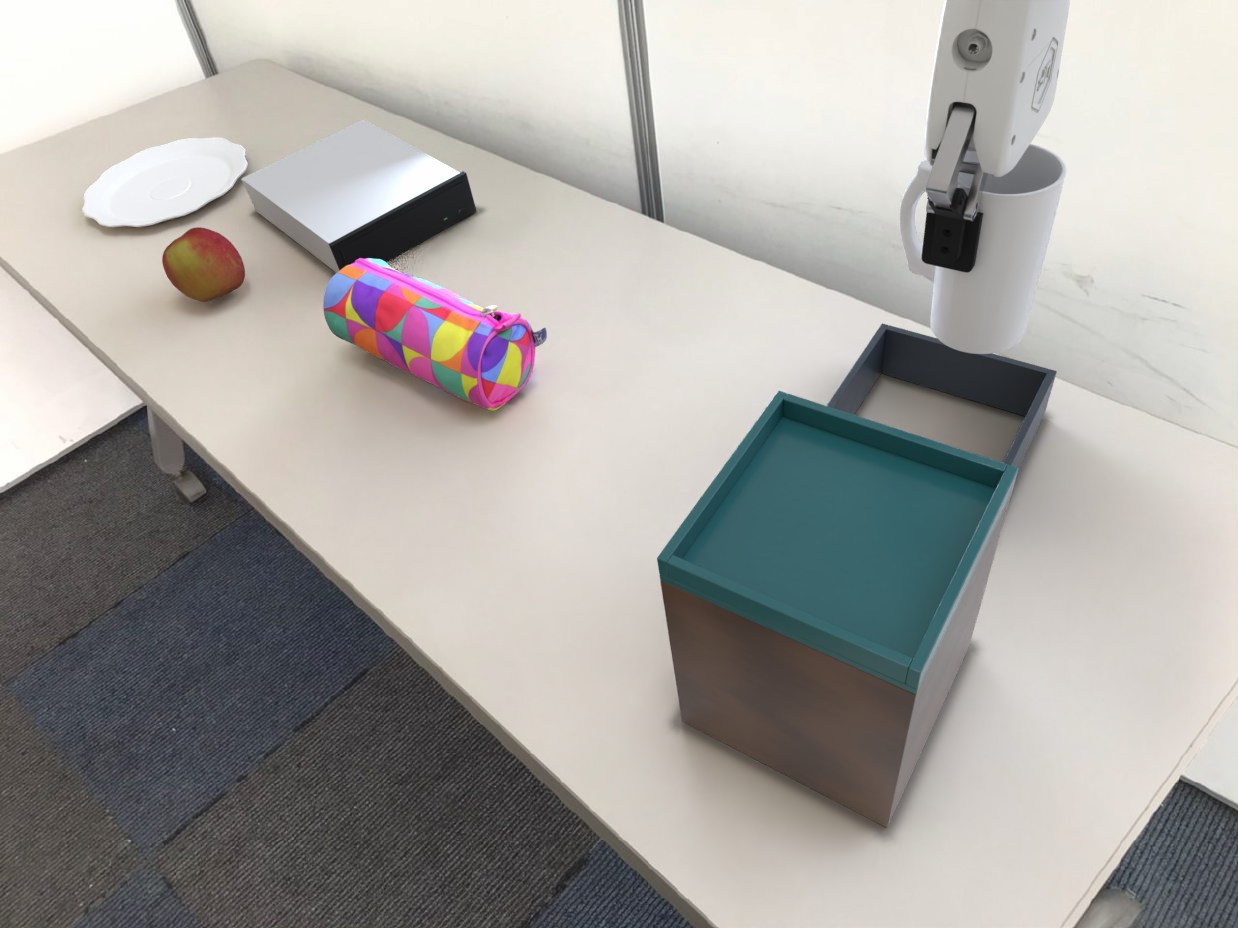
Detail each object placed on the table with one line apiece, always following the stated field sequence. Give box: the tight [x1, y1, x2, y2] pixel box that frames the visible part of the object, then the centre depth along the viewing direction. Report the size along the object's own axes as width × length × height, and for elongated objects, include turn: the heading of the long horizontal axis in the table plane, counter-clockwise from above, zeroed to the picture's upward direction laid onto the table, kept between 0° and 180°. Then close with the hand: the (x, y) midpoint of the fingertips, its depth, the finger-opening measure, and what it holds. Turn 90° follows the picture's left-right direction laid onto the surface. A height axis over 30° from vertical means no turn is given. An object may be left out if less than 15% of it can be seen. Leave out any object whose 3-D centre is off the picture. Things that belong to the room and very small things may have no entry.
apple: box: [161, 226, 246, 303], centre depth 101 cm, size 8×8×8 cm
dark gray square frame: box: [826, 322, 1058, 471], centre depth 74 cm, size 14×14×5 cm
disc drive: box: [241, 118, 477, 274], centre depth 110 cm, size 18×22×5 cm
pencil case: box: [322, 258, 548, 411], centre depth 87 cm, size 22×9×9 cm, turn 56°
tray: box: [656, 390, 1019, 694], centre depth 51 cm, size 14×14×2 cm
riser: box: [659, 492, 1013, 829], centre depth 57 cm, size 14×14×16 cm
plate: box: [81, 136, 249, 228], centre depth 121 cm, size 21×21×2 cm
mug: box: [898, 143, 1067, 354], centre depth 62 cm, size 10×7×12 cm, turn 47°
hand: (968, 232), depth 61 cm, fingers closed on mug, 6 cm apart
